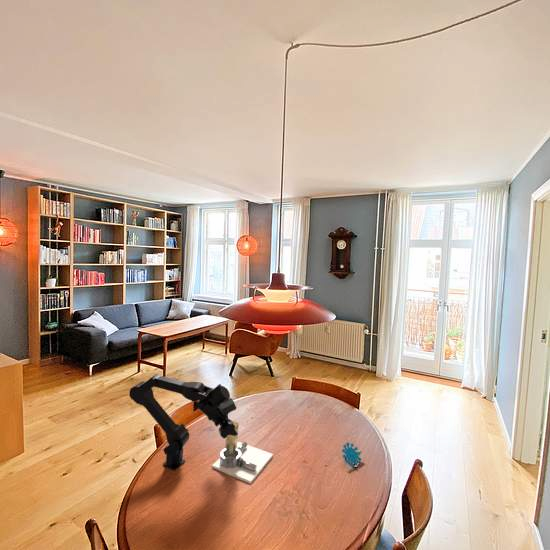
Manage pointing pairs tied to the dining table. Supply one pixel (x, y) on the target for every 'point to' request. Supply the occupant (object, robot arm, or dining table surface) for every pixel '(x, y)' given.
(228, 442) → the cylinder
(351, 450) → the gear
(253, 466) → the steel cradle
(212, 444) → the dining table surface
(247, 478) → the mounting plate
